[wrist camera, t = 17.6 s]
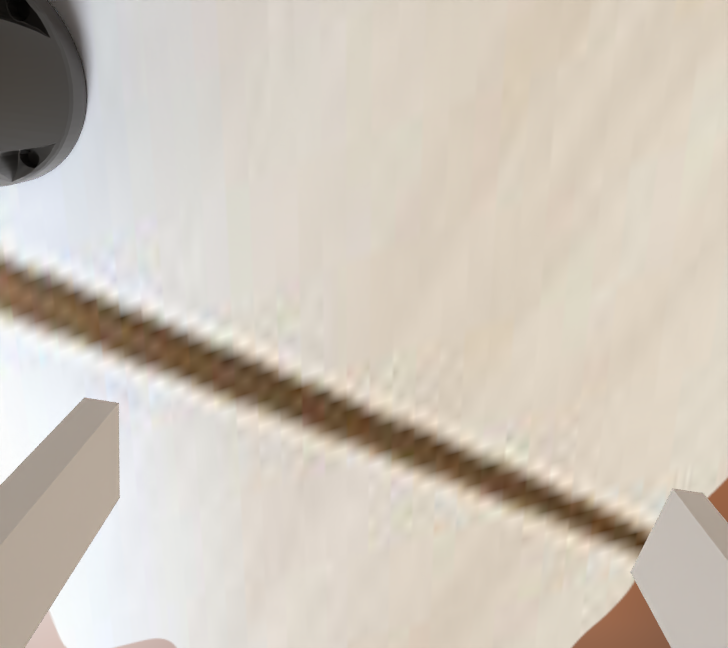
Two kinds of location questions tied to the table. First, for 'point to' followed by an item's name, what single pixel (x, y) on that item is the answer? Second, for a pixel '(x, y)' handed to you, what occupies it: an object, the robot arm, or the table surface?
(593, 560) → the table surface
